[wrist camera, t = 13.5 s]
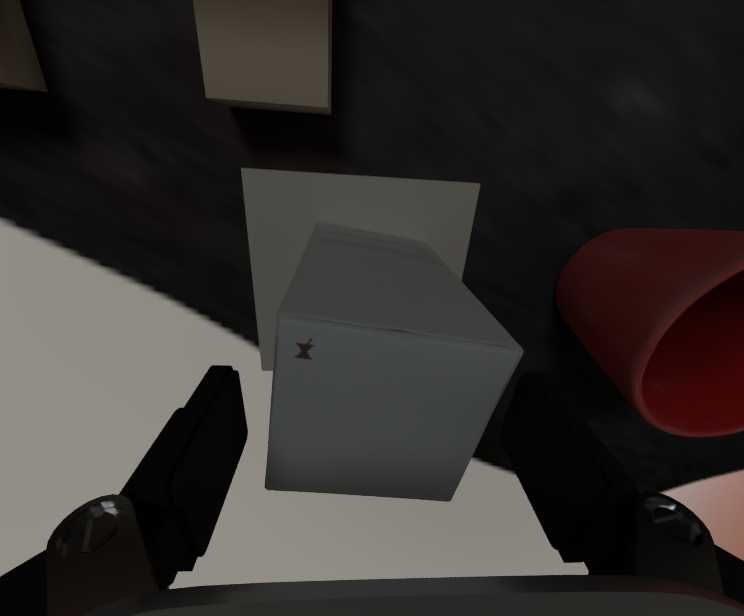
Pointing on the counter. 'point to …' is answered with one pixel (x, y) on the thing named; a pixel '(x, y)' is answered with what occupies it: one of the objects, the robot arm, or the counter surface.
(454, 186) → the tile
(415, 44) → the counter surface
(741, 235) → the flower pot
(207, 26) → the box dock
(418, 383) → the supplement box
